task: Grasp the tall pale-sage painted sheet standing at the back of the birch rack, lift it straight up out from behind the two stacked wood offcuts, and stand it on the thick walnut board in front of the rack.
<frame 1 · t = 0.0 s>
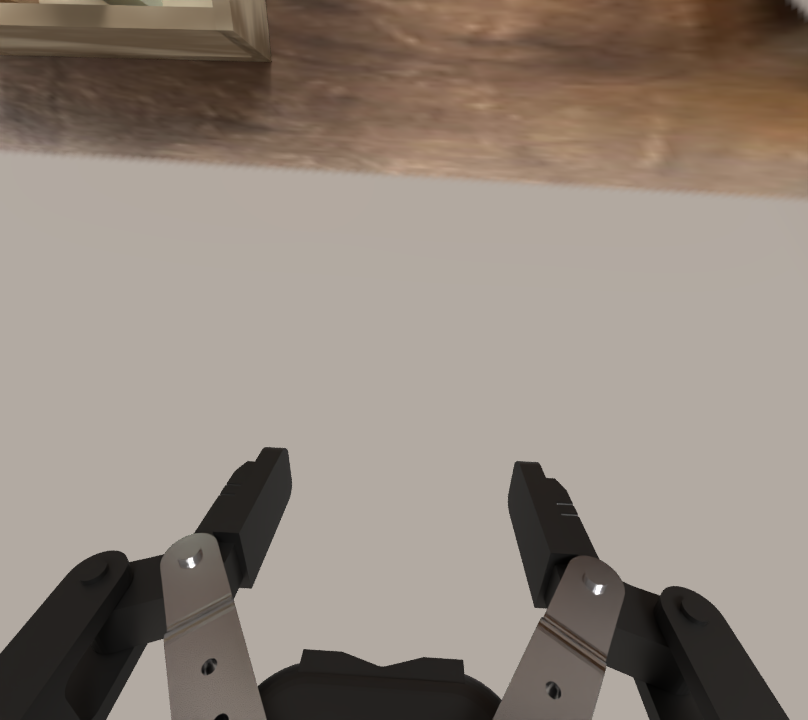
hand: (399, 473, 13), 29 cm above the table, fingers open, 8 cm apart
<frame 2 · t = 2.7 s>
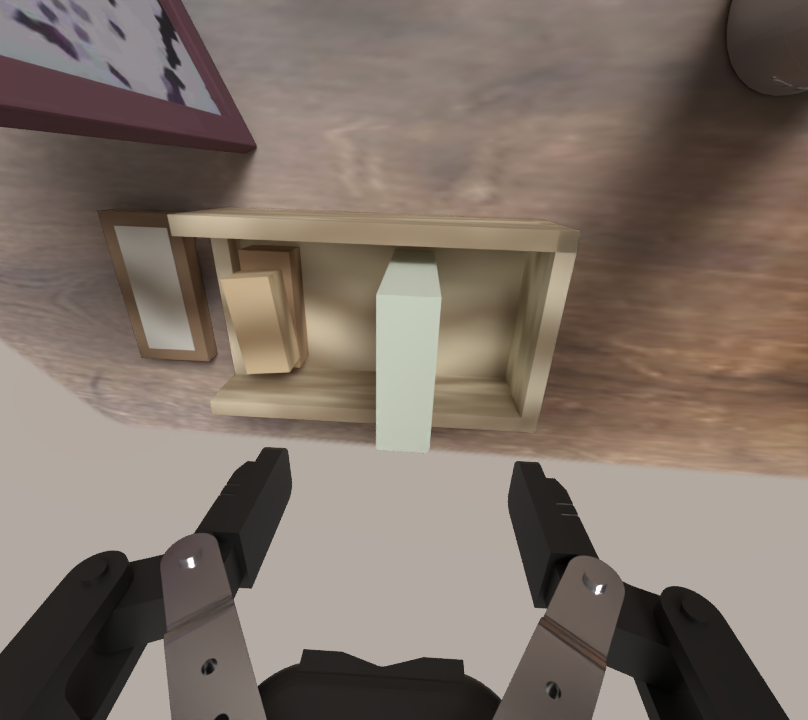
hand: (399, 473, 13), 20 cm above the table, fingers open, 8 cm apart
offcut upper: (270, 316, 28), point 4 cm above the table, touching offcut lower
picture frame: (127, 48, 24), on the table
rack: (382, 303, 31), on the table
board: (169, 287, 31), on the table
offcut lower: (282, 303, 30), point 1 cm above the table, touching offcut upper, rack
sheet: (411, 309, 30), point 1 cm above the table, touching rack
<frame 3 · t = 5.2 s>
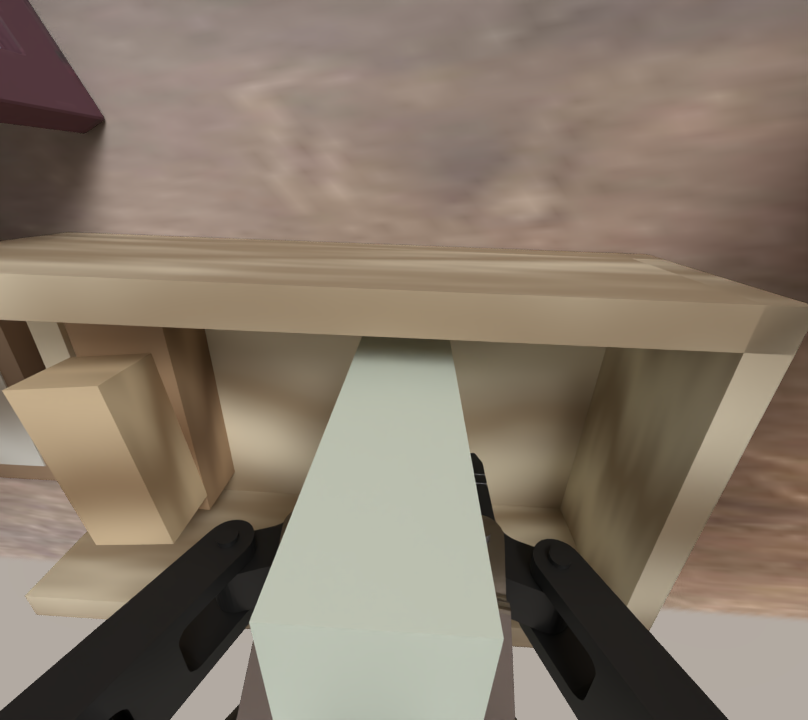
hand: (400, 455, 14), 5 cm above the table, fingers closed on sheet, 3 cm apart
offcut upper: (144, 432, 15), point 4 cm above the table, touching offcut lower
rack: (355, 390, 18), on the table
offcut lower: (181, 395, 17), point 1 cm above the table, touching offcut upper, rack
sheet: (404, 406, 17), point 1 cm above the table, touching gripper, rack
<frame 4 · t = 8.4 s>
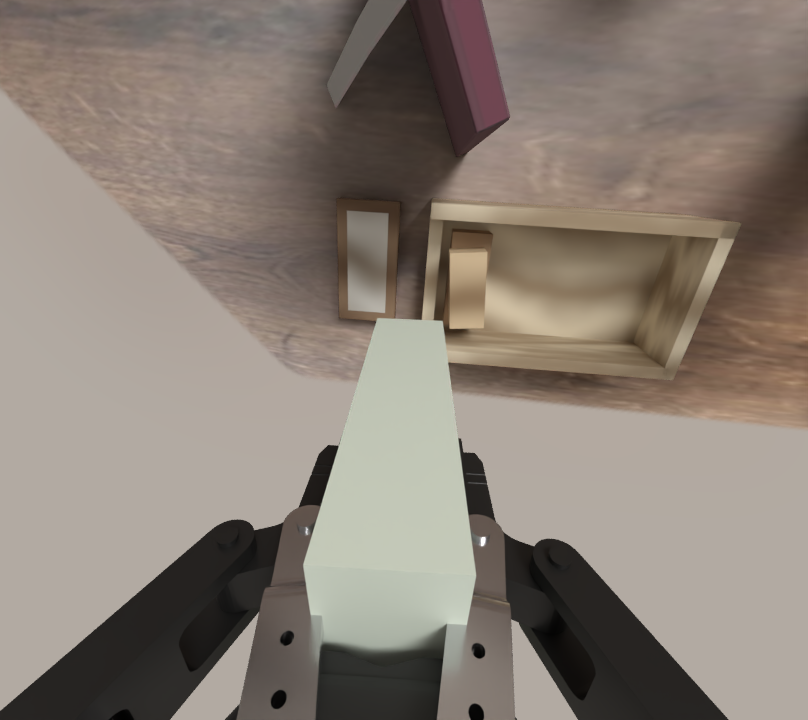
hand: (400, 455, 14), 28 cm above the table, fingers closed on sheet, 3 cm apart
offcut upper: (465, 285, 36), point 4 cm above the table, touching offcut lower
picture frame: (383, 74, 32), on the table
rack: (540, 278, 39), on the table
board: (369, 261, 39), on the table
offcut lower: (464, 275, 38), point 1 cm above the table, touching offcut upper, rack
sheet: (406, 401, 19), point 23 cm above the table, touching gripper
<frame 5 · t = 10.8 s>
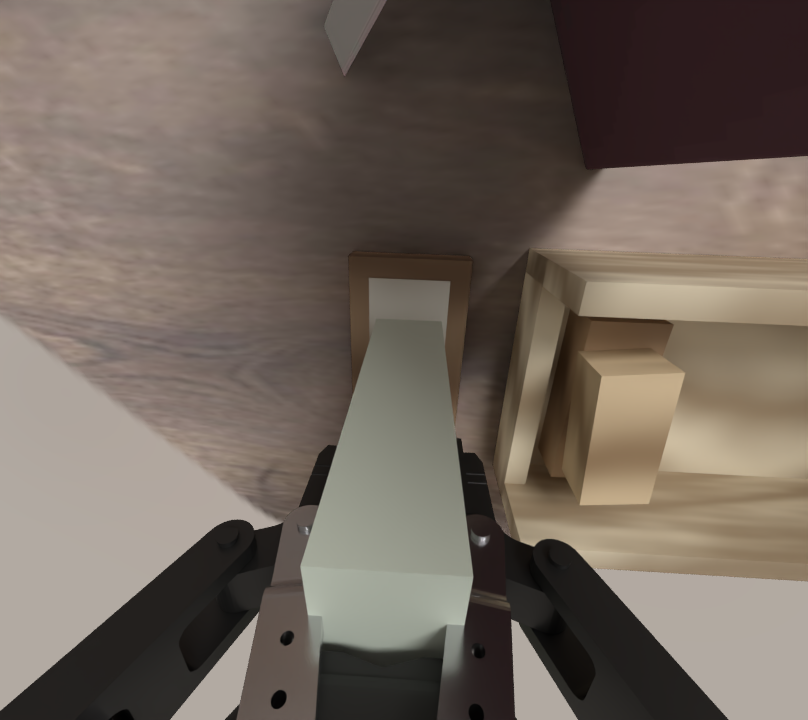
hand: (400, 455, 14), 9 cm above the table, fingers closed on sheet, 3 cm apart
offcut upper: (602, 413, 19), point 4 cm above the table, touching offcut lower
picture frame: (445, 1, 15), on the table
rack: (716, 381, 22), on the table
board: (407, 358, 22), on the table
offcut lower: (585, 384, 21), point 1 cm above the table, touching offcut upper, rack
sheet: (405, 401, 19), point 3 cm above the table, touching gripper
when the fingers open (6 cm above the table, at t = 12.0 s): sheet stays where it is, resting on board.
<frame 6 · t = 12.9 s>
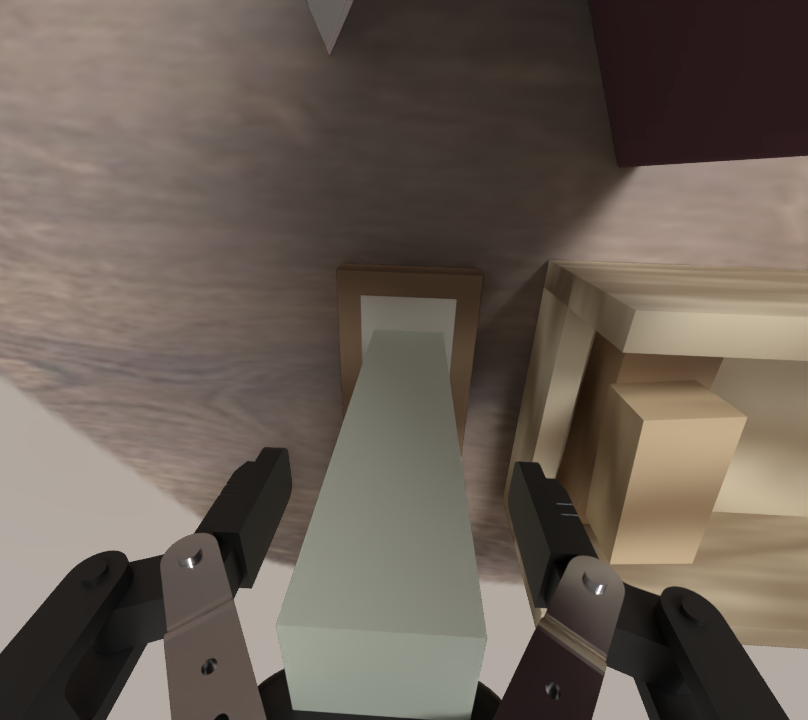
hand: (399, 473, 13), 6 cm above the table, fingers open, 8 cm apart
offcut upper: (634, 454, 16), point 4 cm above the table, touching offcut lower
rack: (761, 410, 19), on the table
board: (406, 384, 19), on the table
offcut lower: (611, 415, 18), point 1 cm above the table, touching offcut upper, rack
sheet: (405, 417, 18), point 2 cm above the table, touching board
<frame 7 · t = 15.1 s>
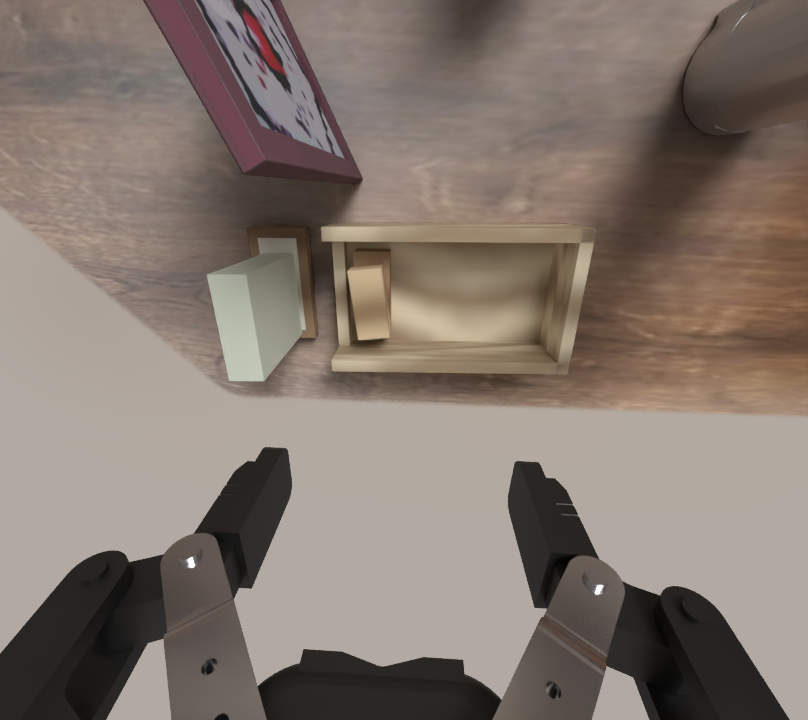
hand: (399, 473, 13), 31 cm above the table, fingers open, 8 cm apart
offcut upper: (371, 299, 39), point 4 cm above the table, touching offcut lower
picture frame: (278, 116, 36), on the table
rack: (446, 289, 42), on the table
board: (287, 283, 42), on the table
offcut lower: (374, 290, 41), point 1 cm above the table, touching offcut upper, rack
sheet: (284, 295, 41), point 2 cm above the table, touching board
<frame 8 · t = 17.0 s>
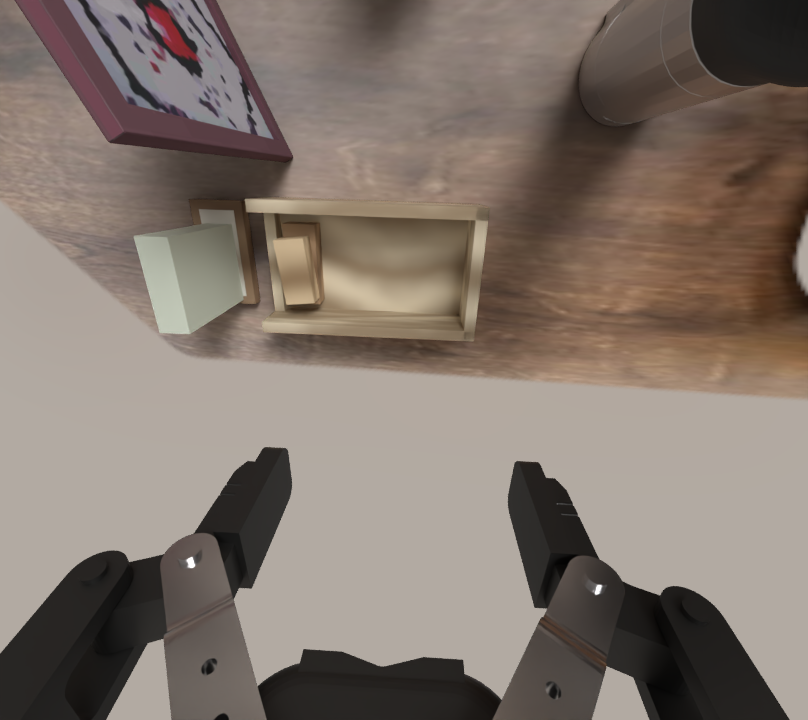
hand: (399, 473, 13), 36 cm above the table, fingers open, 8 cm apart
offcut upper: (300, 268, 43), point 4 cm above the table, touching offcut lower
picture frame: (214, 97, 39), on the table
rack: (374, 262, 46), on the table
board: (229, 252, 46), on the table
offcut lower: (307, 261, 45), point 1 cm above the table, touching offcut upper, rack
sheet: (225, 263, 45), point 2 cm above the table, touching board
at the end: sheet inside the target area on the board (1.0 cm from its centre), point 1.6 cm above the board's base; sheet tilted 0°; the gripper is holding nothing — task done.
